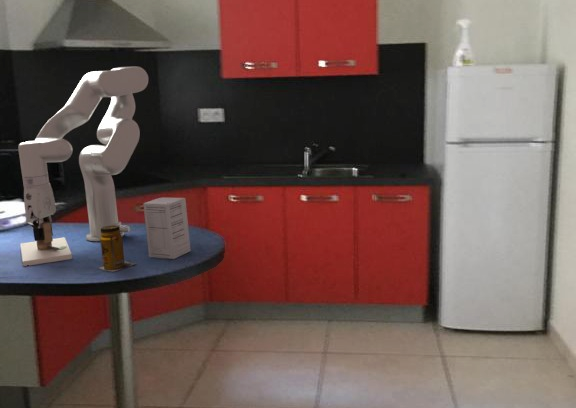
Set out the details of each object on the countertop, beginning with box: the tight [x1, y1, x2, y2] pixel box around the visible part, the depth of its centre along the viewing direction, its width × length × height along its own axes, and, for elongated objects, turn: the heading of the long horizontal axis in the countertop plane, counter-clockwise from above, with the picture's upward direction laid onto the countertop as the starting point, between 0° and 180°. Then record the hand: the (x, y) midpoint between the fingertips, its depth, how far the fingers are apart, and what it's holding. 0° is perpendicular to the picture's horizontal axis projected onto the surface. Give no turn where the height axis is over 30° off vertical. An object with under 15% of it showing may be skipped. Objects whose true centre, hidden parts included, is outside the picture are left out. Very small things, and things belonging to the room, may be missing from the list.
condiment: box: [98, 225, 135, 273], centre depth 191 cm, size 7×8×12 cm
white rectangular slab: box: [20, 237, 73, 267], centre depth 210 cm, size 24×14×2 cm, turn 23°
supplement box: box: [142, 196, 191, 260], centre depth 200 cm, size 10×9×17 cm
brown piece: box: [34, 220, 59, 250], centre depth 208 cm, size 10×4×8 cm, turn 53°
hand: (43, 237), depth 209 cm, fingers closed on brown piece, 4 cm apart
